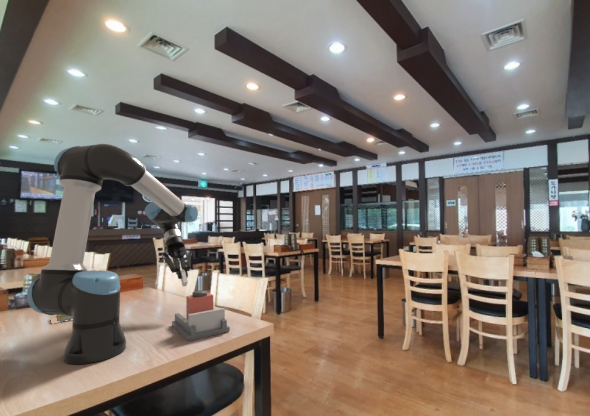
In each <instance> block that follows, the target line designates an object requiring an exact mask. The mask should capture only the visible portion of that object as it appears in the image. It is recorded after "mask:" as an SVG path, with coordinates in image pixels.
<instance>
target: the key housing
mask: <svg viewBox="0 0 590 416" xmlns="http://www.w3.org/2000/svg"><path fill="white" fill-rule="evenodd" d="M225 311H226V308H224V307H222V308H215V309H214V308H213V310H209V311H203V312H198V313H193V314H188V319H187V317H186V318H185V316H183V315H182V314H181V313H180V312H178V313H174V320H172V321H171V326H172V327H173V328H174V329H175V330H176V331H177V332H178V334H180V335H181V336H182V337H183V338H184V339H185V340H186V341H187V342H191V341H196V340H199V339H205V338H208V337H211V336H212V335H213V336H216V335H221V334H225V333H228V332H229V331H231V330H230V326H229V325H228V320H227V319H226V313H225ZM224 332H225V333H224ZM220 333H221V334H220Z"/></svg>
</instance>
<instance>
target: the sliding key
mask: <svg viewBox="0 0 590 416" xmlns="http://www.w3.org/2000/svg"><path fill="white" fill-rule="evenodd" d="M185 298H186V299H185V300H186V301H185V302H186V305H185V306H186V309H185V310H186V315H185V316H186V318H187V319H188V314H193V313H198V312H203V311H209V310H214V294H212V293H210V292H208V291H207V290H196V291H193V292H192V294H191V295H186V297H185Z"/></svg>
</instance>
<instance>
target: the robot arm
mask: <svg viewBox="0 0 590 416" xmlns="http://www.w3.org/2000/svg"><path fill="white" fill-rule="evenodd" d="M53 168H54V172H56V176H57V177H58V178H59V180H58V181H59V182H58V183H59V184H60V185H61V186H62V188H63V191H62V197H61V201H60V207H59V212H58V216H57V221H56V226H55V233H54V238H53V241H52V247H51V250H50V251H51V252H50V256H49V262H48V263H47V264H46V265H44V266H43V267H42V268H41V271H40V275H39V276H38V277H36V278H35V279H34V280H33V281H32V282H31V283H30V285H29V286H28V288H27V291H26V300H27V303H28V305H29V307H30V308H31V309H32V310H34V312H36V313H39V314H44V315H46V316H47V315H48V316H57V315H67V316H73V320H72V321H71V322H72V325H71V326H72V328H71V332H70V336H69V338H68V341H67V343H66V346H65V349H64V353H63V354H64V355H63V356H64V357H63V361H64V362H65V363H67V364H71V365H85V364H91V363H97V362H102V361H105V360H108V359H110V358H111V359H112V358H113V357H115V356H118V355H120V354H121V353H123V352H124V351H125V350H126V349H127V339H126V336H125V333H124V331H123V329H122V326H121V325H122V324H121V322H120V314H121V313H120V312H121V311H120V310H121V309H120V306H121V305H120V303H121V283H120V282H121V281H120V276H119V275H118V274H117V273H116V272H113V271H110V270H96V269H94V270H93V269H92V270H88V268H87V267H85V265H84V261H85V253H86V249H87V242H88V236H89V231H90V230H89V229H90V226H91V219H92V214H93V208H94V204H95V203H94V201H95V195H96V193H97V192H99V191H101V190H102V186H103V182H104V181H106V180H111V181H116V182H120V183H121V184H122V185H124V186H127V187H132V188H133V189H134V190H136V191H137V192H138V193H140V194H141V195H143V196H144V197H145V198H146V199H148V200H149V201H151V202H150V203H148V204H147V205H146V207H144V214H145V216H147V218H148V219H149V220H150V221H152V222H153V223H154V224H155V225H156V226H157V227H158V228H159V229H161V231H162V235H163V239H164V242H165V248H166V251H165V252H164V251H163V252H162V254H161V258H162V259H163V260H164V261H165V263H166V264H167V266H168V268H169V270H170V272H171V273H172V274H174V273H175V275H177V279H178V280H180V282H181V284H182V287H187V285H188V277H189V272H190V271H191V268H192V254H193V250H187V248H186V245H185V242H184V239H183V236H182V231H181V227H180V223H192V222H195V221H197V220H198V217H199V210H198V208H197V206H196V205H194V204H186V203H185V202H184V201H182V200H181V198H179V197H178V196H177V195H176V194H174V193H173V192H172V191H171V190H170V189H169V188H168V187H167V186H165V185H164V184H163V183H161V181H159V180H158V179H157V178H155V176H154V175H152V174H151V173H150V172H149V171H148V170H147V168H146V165H145V164H144V163H143V162H142V161H141V160H139V159H138V158H137V157H135V156H134V155H132V154H131V153H130V152H128V151H127V150H125V149H122V148H120V147H118V146H116V145H113V144H109V143H97V144H91V145H81V146H80V145H75V146H71V147H68V148H65V149H62V150H61V151H60V152H58V153H57V155H56V157H55V159H54V164H53ZM185 256H186V260H187V261H186V260H185ZM171 258H172V259H171Z"/></svg>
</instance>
